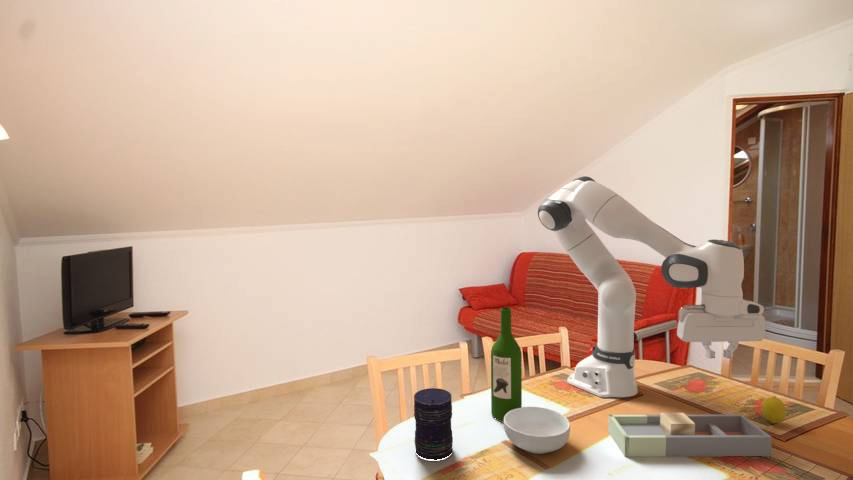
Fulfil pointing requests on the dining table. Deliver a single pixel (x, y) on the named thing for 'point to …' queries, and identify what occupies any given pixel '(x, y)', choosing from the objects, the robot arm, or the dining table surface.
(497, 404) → the wine bottle
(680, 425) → the block
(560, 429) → the cereal bowl
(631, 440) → the tray
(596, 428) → the dining table surface
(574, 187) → the robot arm
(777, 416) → the lemon
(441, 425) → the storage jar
